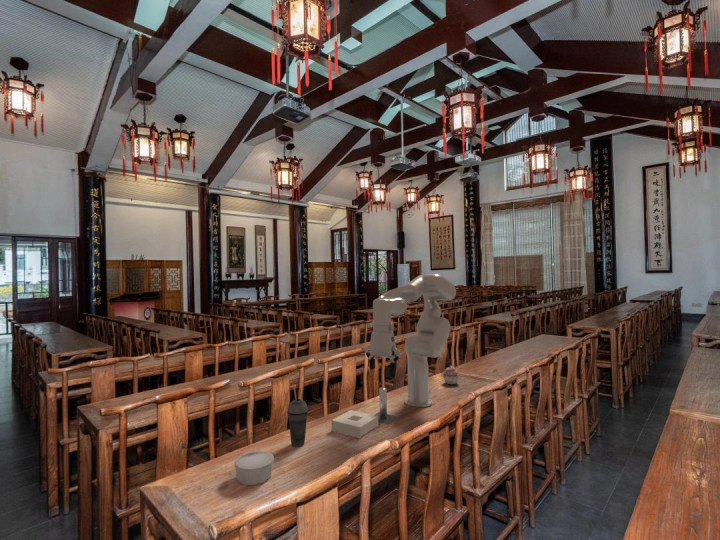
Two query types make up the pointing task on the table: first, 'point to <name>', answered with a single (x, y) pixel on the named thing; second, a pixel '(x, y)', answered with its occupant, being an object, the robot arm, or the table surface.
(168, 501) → the table surface
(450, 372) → the cupcake
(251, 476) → the ramekin
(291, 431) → the beverage cup
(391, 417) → the mat
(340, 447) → the table surface
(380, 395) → the peg
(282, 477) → the table surface
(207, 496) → the table surface
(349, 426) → the hole block
